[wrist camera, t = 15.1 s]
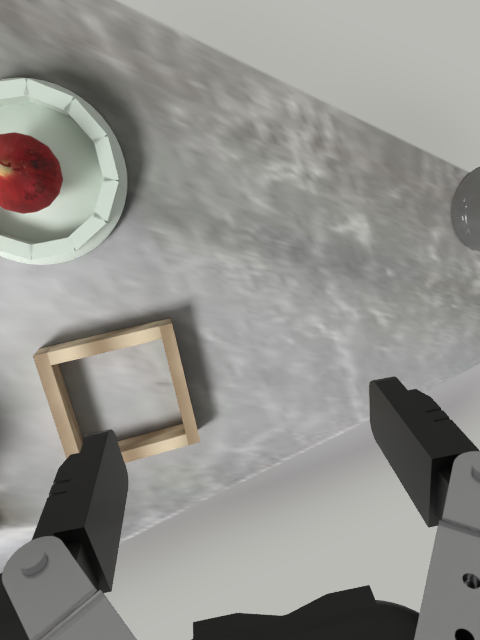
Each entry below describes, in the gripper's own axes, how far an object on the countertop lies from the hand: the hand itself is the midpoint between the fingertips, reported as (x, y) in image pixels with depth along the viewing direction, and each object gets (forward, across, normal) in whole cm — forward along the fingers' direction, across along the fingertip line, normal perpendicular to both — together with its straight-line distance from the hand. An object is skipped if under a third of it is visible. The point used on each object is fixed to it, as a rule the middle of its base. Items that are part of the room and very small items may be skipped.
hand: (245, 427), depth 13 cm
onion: (+29, +14, -7) cm, 33 cm away
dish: (+30, +14, -7) cm, 34 cm away
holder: (+27, +11, +14) cm, 32 cm away
